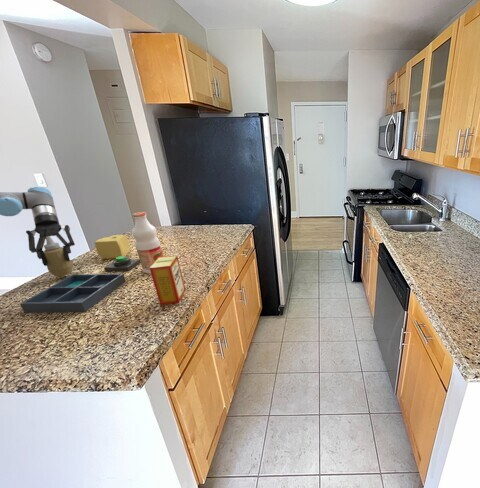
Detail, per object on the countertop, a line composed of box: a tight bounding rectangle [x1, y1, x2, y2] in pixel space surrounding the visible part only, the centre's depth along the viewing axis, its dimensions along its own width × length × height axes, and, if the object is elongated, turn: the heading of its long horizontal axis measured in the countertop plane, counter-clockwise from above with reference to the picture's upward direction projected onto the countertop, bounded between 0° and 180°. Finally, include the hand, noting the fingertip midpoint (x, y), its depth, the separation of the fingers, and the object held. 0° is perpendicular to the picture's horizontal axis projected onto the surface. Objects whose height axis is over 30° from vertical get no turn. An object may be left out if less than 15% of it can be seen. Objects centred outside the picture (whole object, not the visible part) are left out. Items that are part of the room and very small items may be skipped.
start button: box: [115, 255, 126, 262], centre depth 125 cm, size 4×4×2 cm
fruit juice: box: [131, 211, 165, 275], centre depth 119 cm, size 9×9×28 cm
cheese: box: [94, 234, 132, 260], centre depth 139 cm, size 10×11×10 cm
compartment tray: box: [19, 273, 127, 314], centre depth 103 cm, size 22×22×4 cm
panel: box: [103, 256, 141, 273], centre depth 126 cm, size 11×9×4 cm
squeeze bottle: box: [43, 236, 73, 278], centre depth 114 cm, size 8×8×18 cm
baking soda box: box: [150, 255, 186, 306], centre depth 100 cm, size 10×6×16 cm
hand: (56, 262), depth 112 cm, fingers closed on squeeze bottle, 6 cm apart
